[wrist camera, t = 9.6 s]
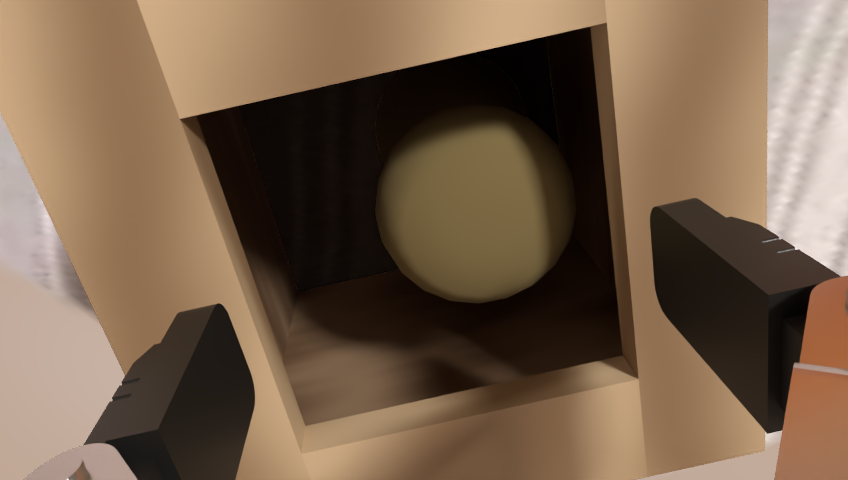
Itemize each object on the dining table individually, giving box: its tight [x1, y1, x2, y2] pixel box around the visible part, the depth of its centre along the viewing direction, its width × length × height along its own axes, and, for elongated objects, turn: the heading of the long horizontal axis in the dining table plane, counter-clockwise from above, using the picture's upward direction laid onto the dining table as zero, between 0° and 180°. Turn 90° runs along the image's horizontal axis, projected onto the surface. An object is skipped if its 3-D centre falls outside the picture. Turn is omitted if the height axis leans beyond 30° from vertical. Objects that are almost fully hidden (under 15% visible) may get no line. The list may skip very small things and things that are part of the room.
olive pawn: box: [375, 53, 576, 303], centre depth 20 cm, size 6×6×11 cm
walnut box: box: [0, 0, 768, 480], centre depth 19 cm, size 14×14×13 cm
